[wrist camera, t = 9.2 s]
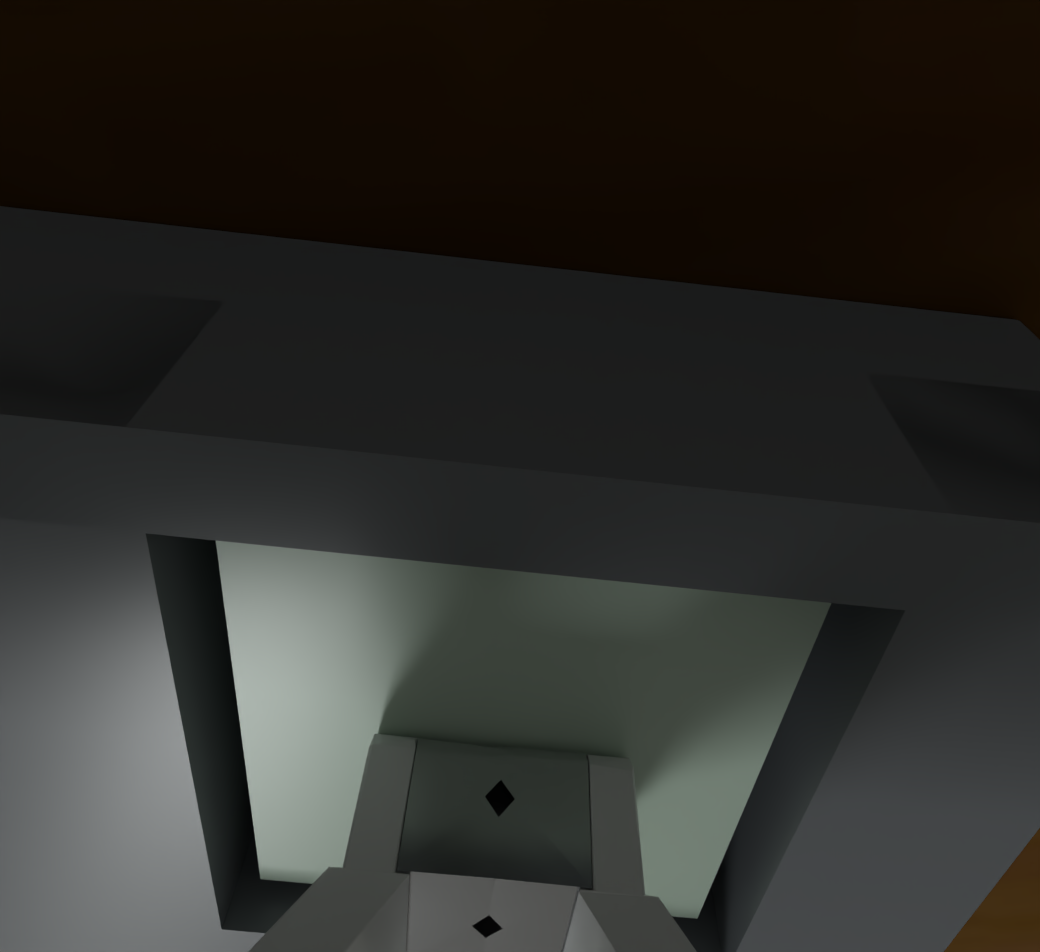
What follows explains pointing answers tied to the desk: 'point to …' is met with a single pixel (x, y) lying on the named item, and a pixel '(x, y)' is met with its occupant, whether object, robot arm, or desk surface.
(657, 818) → the sage key
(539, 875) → the robot arm
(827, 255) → the desk surface
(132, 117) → the desk surface
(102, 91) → the desk surface
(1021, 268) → the desk surface
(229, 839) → the keypad
